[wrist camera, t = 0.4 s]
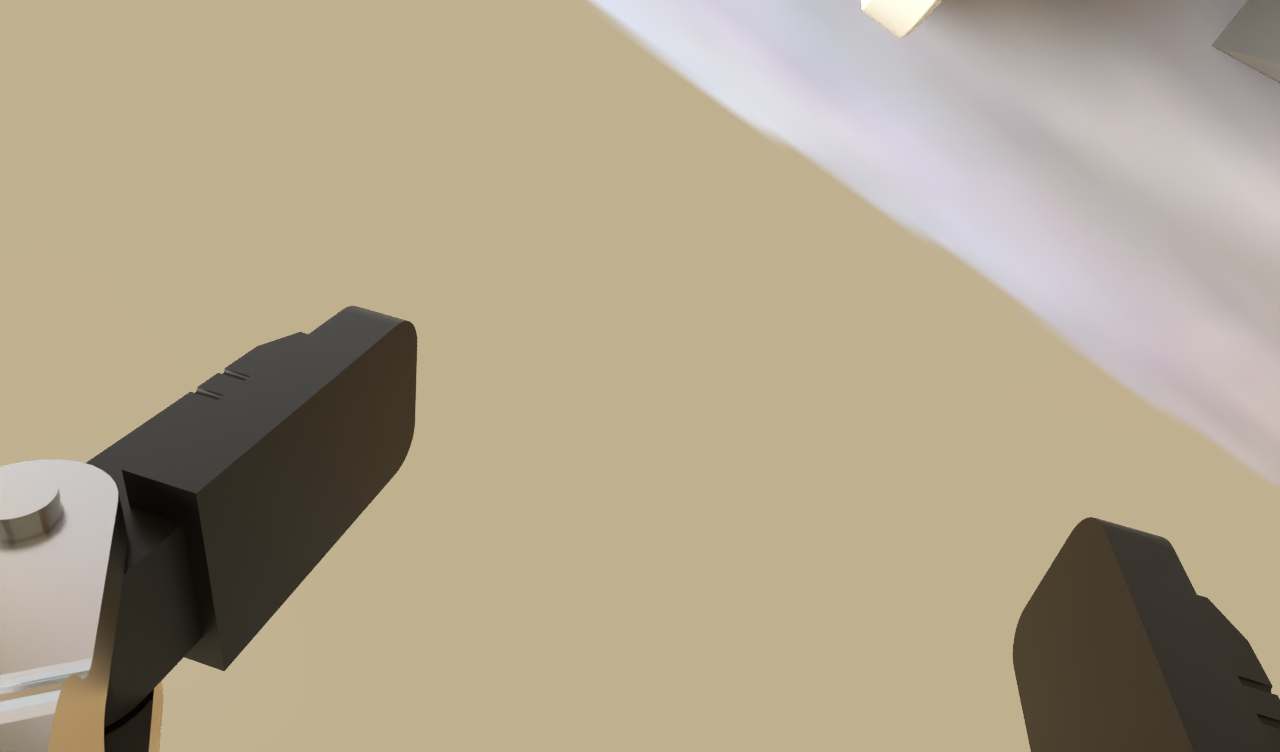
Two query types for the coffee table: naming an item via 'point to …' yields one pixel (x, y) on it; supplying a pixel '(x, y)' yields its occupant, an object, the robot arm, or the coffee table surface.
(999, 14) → the coffee table surface
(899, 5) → the cable organizer
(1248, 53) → the block
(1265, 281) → the coffee table surface
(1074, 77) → the coffee table surface
